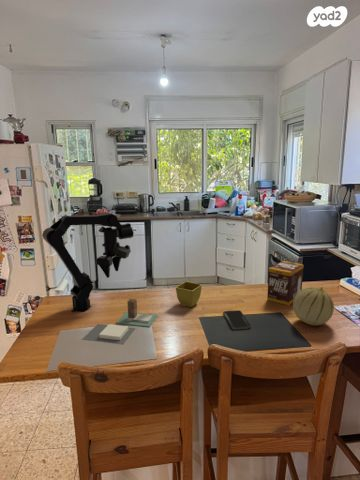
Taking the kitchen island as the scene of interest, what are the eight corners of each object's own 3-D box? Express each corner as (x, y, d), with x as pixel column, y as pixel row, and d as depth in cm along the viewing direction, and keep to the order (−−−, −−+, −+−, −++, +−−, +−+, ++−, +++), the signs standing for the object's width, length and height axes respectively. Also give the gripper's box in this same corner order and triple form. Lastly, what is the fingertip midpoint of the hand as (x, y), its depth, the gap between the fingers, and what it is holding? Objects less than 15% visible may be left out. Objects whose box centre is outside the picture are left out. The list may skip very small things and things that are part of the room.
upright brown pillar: (127, 320, 134) (126, 302, 132) (131, 315, 139) (130, 297, 137) (148, 322, 132) (147, 304, 130) (152, 317, 137) (151, 299, 135)
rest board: (116, 324, 133) (116, 322, 132) (126, 314, 142) (126, 311, 142) (149, 328, 129) (149, 326, 129) (157, 317, 139) (157, 314, 139)
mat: (82, 340, 121) (81, 339, 121) (97, 325, 132) (97, 324, 132) (123, 345, 117) (123, 344, 117) (135, 329, 129) (135, 328, 129)
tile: (99, 334, 121) (119, 336, 119) (108, 324, 129) (128, 326, 127) (99, 338, 121) (119, 340, 120) (109, 327, 129) (128, 330, 127)
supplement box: (266, 300, 154) (268, 267, 151) (280, 290, 166) (282, 260, 162) (288, 306, 148) (290, 272, 144) (301, 295, 159) (304, 264, 156)
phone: (231, 328, 127) (222, 311, 142) (231, 331, 127) (222, 313, 142) (252, 326, 128) (240, 310, 143) (251, 329, 128) (240, 312, 143)
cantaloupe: (284, 318, 136) (286, 283, 132) (311, 312, 141) (314, 278, 138) (311, 335, 123) (314, 297, 119) (340, 327, 128) (344, 290, 125)
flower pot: (192, 310, 145) (192, 290, 143) (175, 306, 149) (175, 287, 147) (202, 303, 152) (202, 284, 150) (185, 299, 157) (185, 281, 154)
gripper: (118, 246, 139) (120, 282, 142) (135, 237, 156) (136, 269, 160) (94, 245, 141) (96, 280, 145) (113, 236, 159) (115, 267, 163)
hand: (112, 274), depth 153 cm, fingers open, 9 cm apart
